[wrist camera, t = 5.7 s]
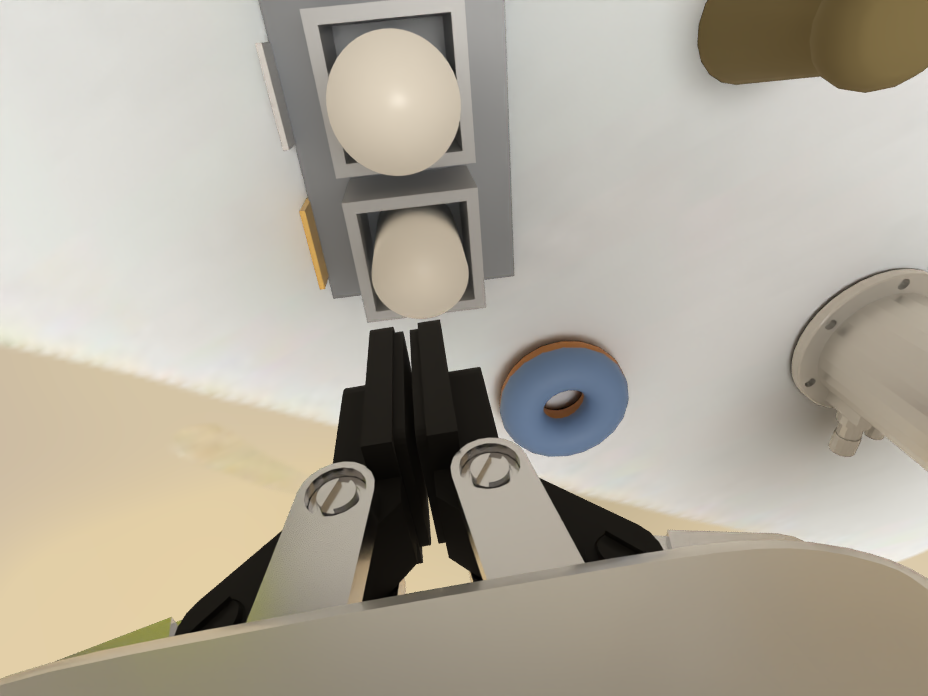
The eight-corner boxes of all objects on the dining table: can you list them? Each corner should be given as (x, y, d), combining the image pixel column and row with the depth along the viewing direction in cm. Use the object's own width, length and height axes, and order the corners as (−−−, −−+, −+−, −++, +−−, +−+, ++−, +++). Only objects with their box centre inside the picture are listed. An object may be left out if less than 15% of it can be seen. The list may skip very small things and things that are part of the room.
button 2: (458, 261, 32) (472, 312, 26) (384, 270, 32) (380, 324, 26) (451, 185, 30) (464, 223, 24) (370, 195, 29) (363, 235, 24)
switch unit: (511, 269, 34) (530, 310, 29) (331, 292, 34) (319, 338, 29) (491, -249, 21) (520, -336, 16) (200, -227, 21) (137, -310, 16)
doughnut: (468, 385, 39) (482, 425, 35) (575, 306, 37) (602, 340, 33) (534, 445, 44) (552, 486, 41) (630, 380, 42) (658, 416, 39)
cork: (686, 86, 29) (819, 110, 20) (712, -44, 26) (883, -87, 17) (784, 83, 30) (957, 105, 21) (820, -46, 27) (1045, -88, 17)
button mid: (450, 137, 25) (466, 168, 20) (355, 147, 25) (342, 182, 19) (439, 24, 23) (454, 21, 17) (334, 35, 23) (311, 36, 17)
